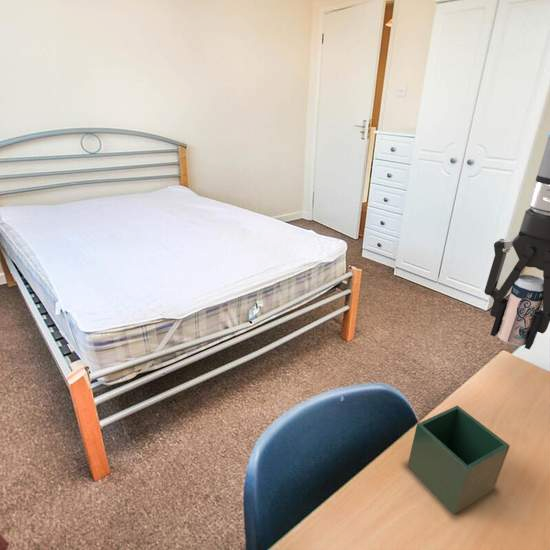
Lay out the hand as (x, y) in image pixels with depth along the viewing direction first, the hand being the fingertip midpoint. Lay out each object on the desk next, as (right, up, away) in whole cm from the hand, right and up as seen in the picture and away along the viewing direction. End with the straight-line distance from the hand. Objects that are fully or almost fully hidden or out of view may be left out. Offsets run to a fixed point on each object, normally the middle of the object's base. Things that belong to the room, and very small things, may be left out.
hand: (511, 338), depth 68 cm
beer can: (0, 0, 0) cm, 1 cm away
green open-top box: (-12, -24, -2) cm, 27 cm away
